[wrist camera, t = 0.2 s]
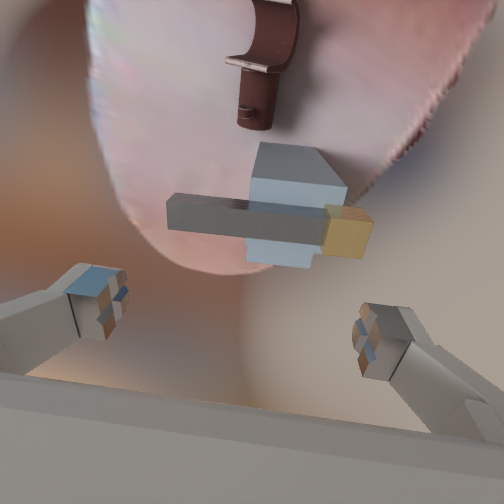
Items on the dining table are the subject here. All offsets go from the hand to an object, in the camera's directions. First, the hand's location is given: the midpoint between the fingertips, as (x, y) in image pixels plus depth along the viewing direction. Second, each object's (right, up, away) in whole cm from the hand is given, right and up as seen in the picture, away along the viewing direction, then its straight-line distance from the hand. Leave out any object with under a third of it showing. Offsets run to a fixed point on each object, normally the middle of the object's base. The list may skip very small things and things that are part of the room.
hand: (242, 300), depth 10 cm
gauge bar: (+2, +6, +22) cm, 22 cm away
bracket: (+2, +32, +37) cm, 49 cm away
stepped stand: (+6, +14, +46) cm, 49 cm away
